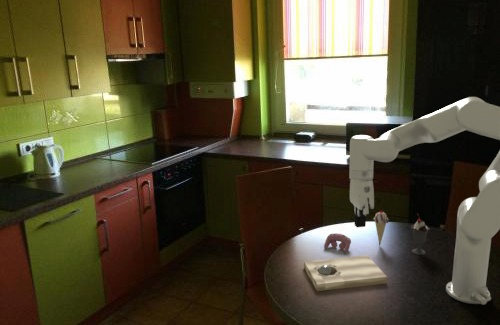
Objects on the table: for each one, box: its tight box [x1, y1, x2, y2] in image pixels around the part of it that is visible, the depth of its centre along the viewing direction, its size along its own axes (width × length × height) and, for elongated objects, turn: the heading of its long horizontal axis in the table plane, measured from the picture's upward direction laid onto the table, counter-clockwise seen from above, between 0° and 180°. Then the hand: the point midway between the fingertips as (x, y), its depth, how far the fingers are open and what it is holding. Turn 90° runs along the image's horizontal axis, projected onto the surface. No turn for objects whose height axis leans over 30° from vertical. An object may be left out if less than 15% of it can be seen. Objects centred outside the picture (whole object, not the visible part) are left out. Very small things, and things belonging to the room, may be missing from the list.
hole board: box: [303, 254, 388, 292], centre depth 153 cm, size 16×24×2 cm, turn 99°
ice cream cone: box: [373, 210, 389, 247], centre depth 172 cm, size 6×6×15 cm
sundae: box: [410, 213, 431, 256], centre depth 166 cm, size 7×7×15 cm
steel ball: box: [319, 265, 333, 276], centre depth 151 cm, size 4×4×4 cm
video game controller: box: [323, 233, 352, 254], centre depth 173 cm, size 10×5×7 cm, turn 59°
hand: (359, 226), depth 148 cm, fingers closed
